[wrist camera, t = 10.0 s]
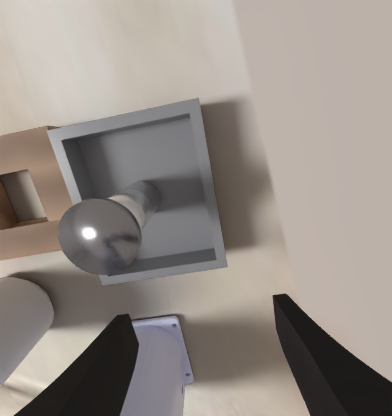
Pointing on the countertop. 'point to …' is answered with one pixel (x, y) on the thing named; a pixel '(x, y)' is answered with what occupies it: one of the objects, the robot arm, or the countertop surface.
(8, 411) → the countertop surface
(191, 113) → the tray
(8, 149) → the hitch block
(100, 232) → the pin
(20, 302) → the can
